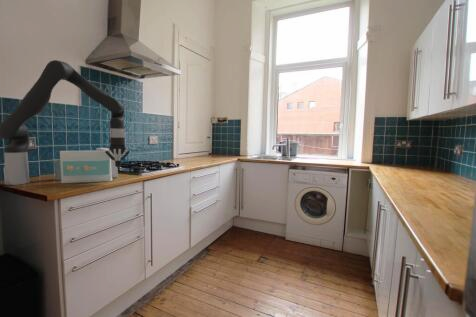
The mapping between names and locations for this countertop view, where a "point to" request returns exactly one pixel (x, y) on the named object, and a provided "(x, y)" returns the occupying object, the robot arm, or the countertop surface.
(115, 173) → the rounded white slab
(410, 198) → the countertop surface
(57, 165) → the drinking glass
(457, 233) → the countertop surface
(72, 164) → the panel
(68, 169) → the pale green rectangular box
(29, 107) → the robot arm
